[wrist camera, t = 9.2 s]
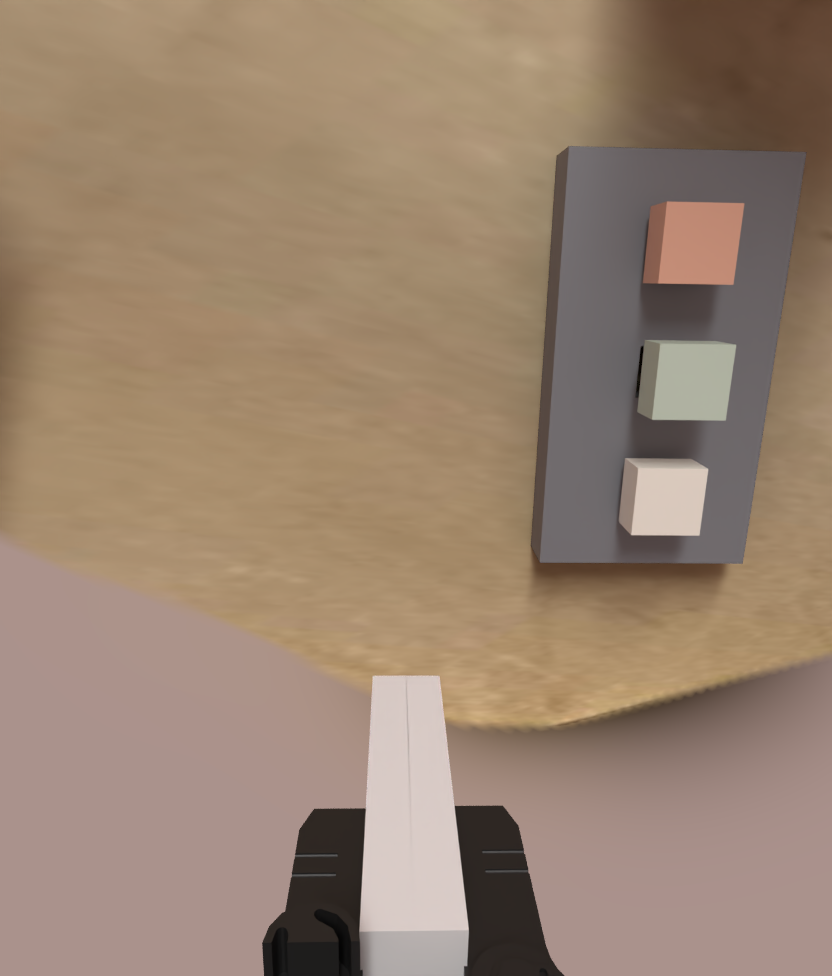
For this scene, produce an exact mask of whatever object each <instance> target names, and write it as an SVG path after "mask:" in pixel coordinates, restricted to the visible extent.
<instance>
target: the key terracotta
mask: <svg viewBox="0 0 832 976" xmlns="http://www.w3.org/2000/svg"><path fill="white" fill-rule="evenodd" d="M743 210H744V203H713V202H668V201H667V202H664V203H660V204H657V205H654V206H651V208H650V218H649V228H648V237H647V247H646V257H645V267H644V277H643V283H650V284H705V285H733V284H734V277H735V269H736V262H737V255H738V247H739V240H740V233H741V225H742V218H743Z"/></svg>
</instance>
